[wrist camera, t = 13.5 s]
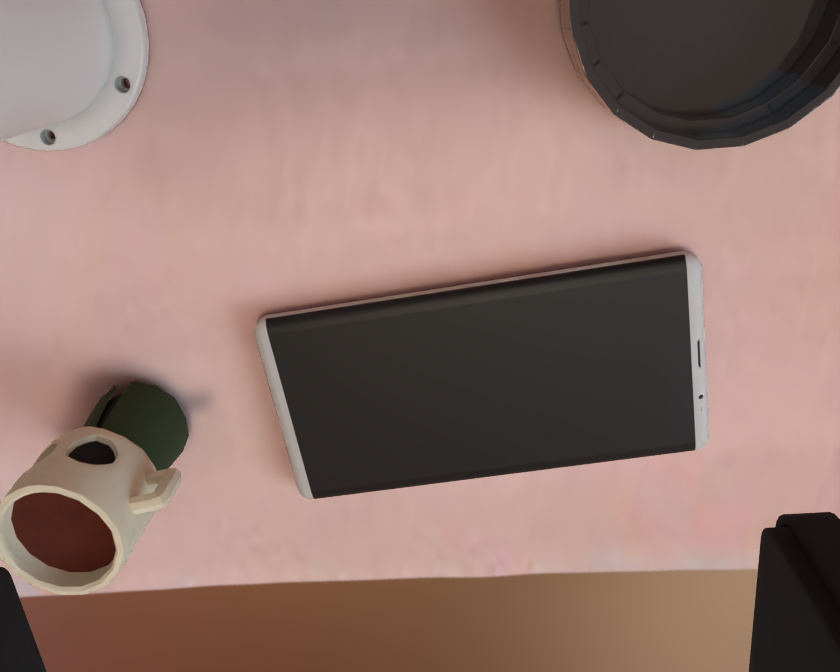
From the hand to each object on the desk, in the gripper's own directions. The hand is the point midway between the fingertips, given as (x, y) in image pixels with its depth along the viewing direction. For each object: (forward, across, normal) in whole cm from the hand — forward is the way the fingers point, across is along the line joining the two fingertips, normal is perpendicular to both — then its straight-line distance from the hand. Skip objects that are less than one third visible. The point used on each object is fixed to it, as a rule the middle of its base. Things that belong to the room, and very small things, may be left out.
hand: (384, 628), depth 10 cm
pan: (+38, -14, -6) cm, 41 cm away
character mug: (+38, +21, +17) cm, 47 cm away
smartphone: (+38, -2, +16) cm, 42 cm away
